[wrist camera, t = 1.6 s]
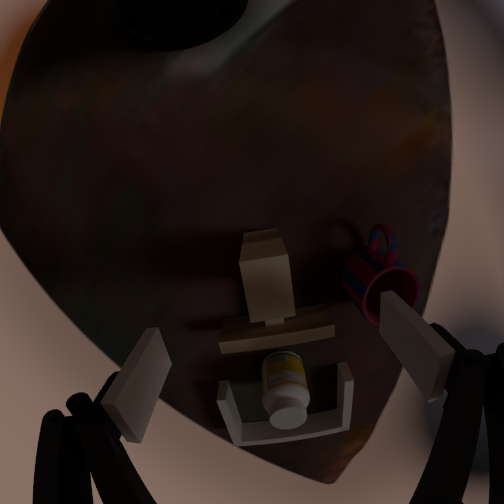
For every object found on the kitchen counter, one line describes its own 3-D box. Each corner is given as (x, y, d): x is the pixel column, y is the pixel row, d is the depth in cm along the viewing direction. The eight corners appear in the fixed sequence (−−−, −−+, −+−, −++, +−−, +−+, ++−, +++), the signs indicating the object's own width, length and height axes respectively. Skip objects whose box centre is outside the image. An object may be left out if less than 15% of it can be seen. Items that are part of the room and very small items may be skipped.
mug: (338, 301, 32) (357, 330, 25) (346, 217, 29) (370, 229, 22) (387, 298, 31) (412, 324, 25) (398, 219, 29) (430, 231, 22)
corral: (219, 380, 35) (216, 400, 31) (345, 361, 34) (353, 380, 30) (236, 427, 38) (234, 446, 34) (343, 411, 37) (349, 429, 33)
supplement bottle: (275, 343, 33) (281, 397, 24) (309, 358, 34) (324, 410, 25) (253, 371, 34) (253, 425, 25) (287, 384, 35) (294, 437, 26)
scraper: (205, 239, 30) (182, 271, 20) (315, 221, 29) (344, 244, 19) (225, 329, 33) (216, 385, 23) (324, 314, 32) (347, 365, 22)
